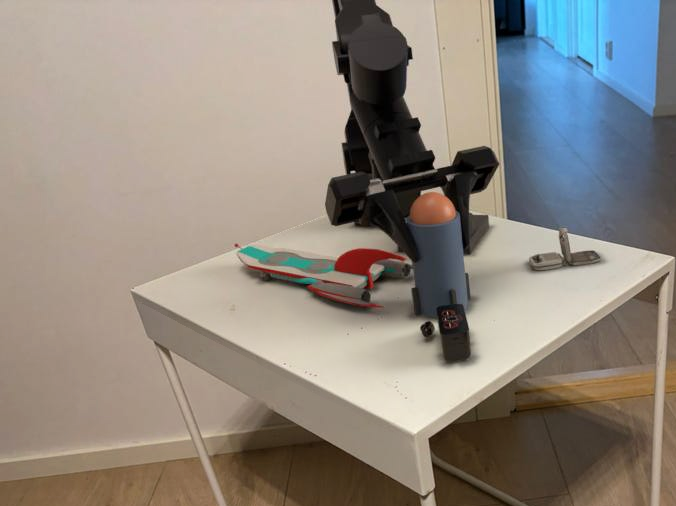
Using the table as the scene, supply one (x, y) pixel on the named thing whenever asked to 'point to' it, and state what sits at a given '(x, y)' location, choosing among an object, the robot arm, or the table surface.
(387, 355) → the table surface
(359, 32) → the robot arm
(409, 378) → the table surface
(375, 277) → the toy spaceship
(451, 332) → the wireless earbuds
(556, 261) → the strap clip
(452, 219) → the toy rocket
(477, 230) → the box
